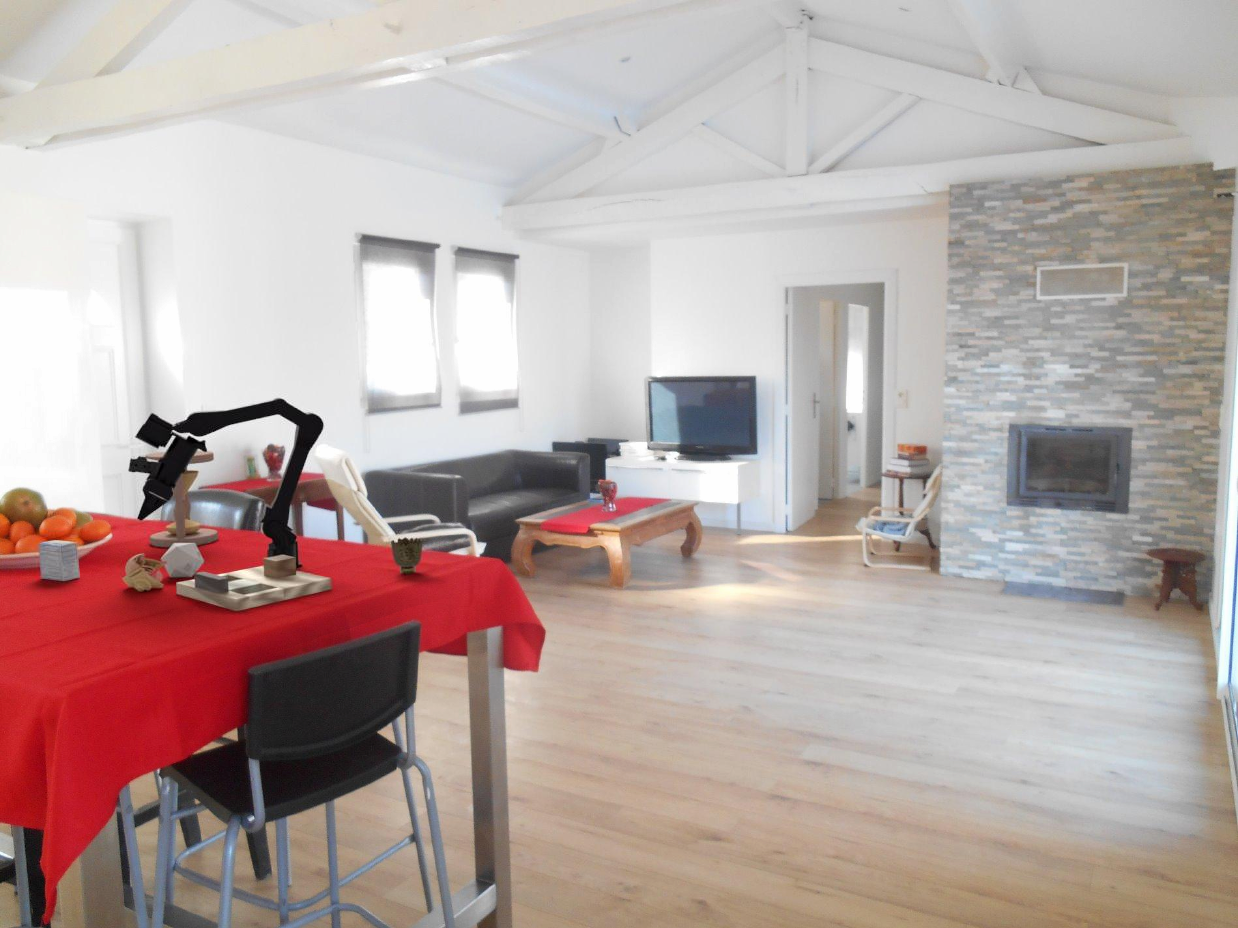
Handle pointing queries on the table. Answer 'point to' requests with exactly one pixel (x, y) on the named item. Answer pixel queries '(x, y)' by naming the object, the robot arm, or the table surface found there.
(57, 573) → the stool softener box
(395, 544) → the cup
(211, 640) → the table surface
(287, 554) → the robot arm
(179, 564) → the die
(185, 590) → the board
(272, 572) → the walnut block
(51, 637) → the table surface
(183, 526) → the hourglass
